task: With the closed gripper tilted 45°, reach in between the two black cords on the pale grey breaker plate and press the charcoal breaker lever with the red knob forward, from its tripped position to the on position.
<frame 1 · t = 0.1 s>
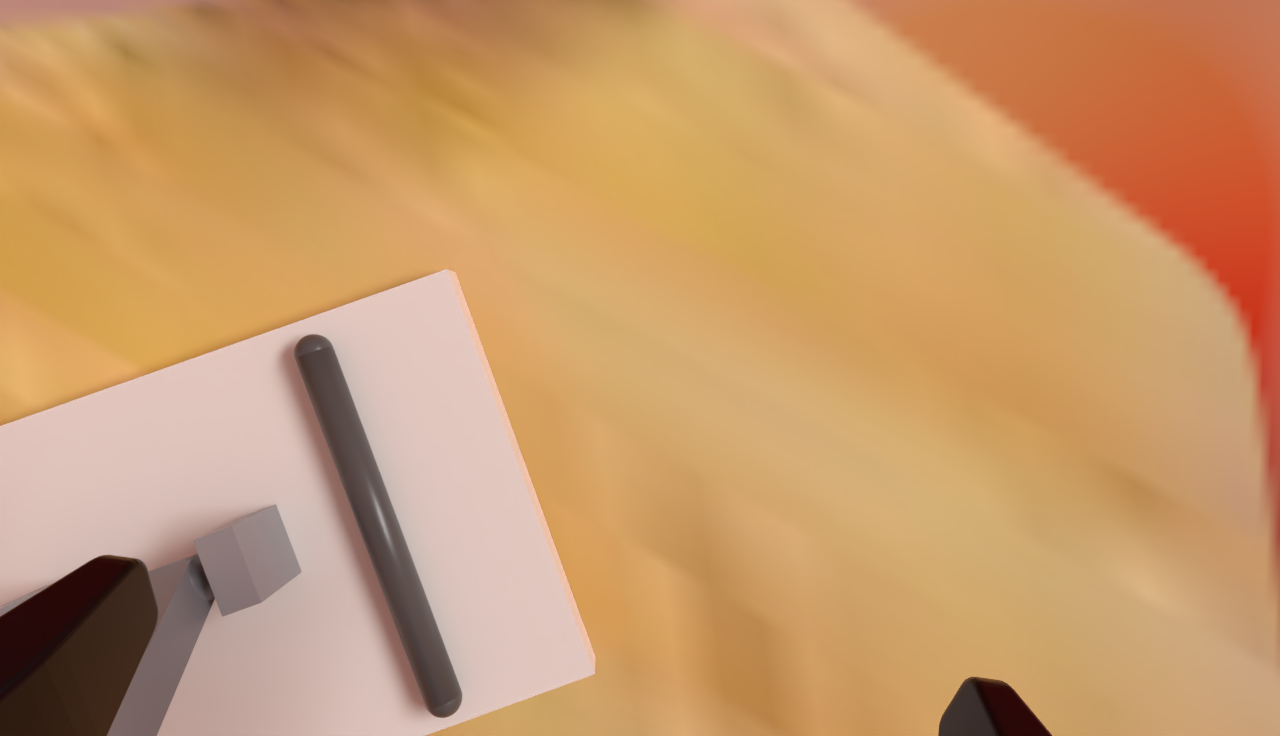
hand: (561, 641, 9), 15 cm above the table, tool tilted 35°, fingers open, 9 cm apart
breaker lever: (72, 703, 18), point 6 cm above the table, hinge at -25.0°
breaker plate: (193, 567, 24), on the table
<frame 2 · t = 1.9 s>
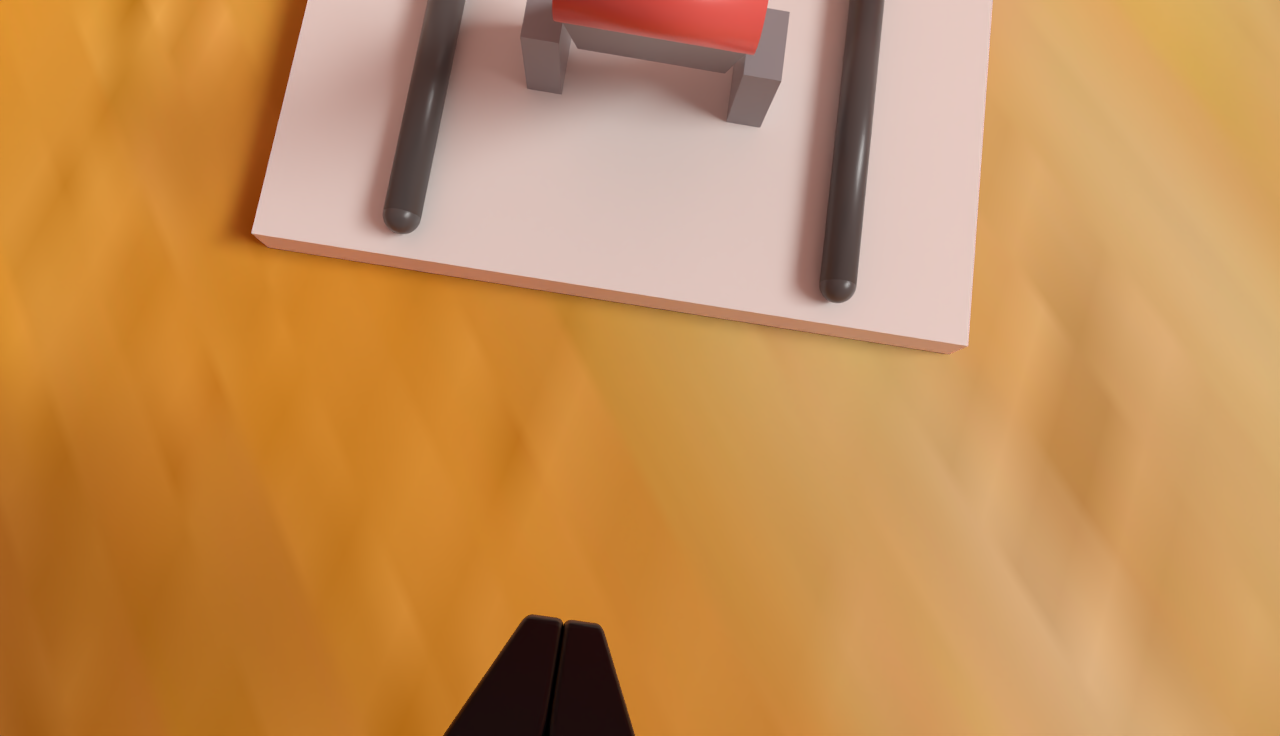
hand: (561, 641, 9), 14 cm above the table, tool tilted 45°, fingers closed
breaker lever: (657, 18, 19), point 6 cm above the table, hinge at -25.0°
breaker plate: (646, 97, 25), on the table
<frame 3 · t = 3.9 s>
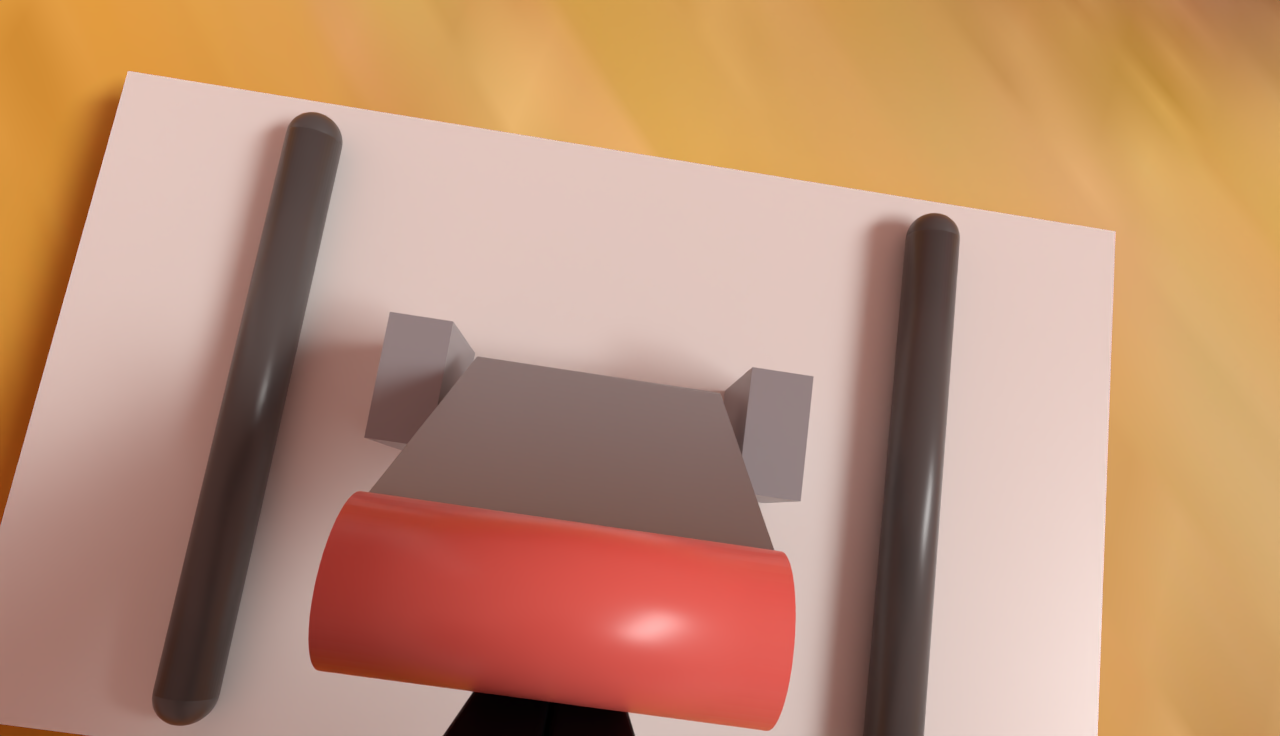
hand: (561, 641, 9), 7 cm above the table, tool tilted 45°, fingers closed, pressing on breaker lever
breaker lever: (581, 485, 10), point 6 cm above the table, hinge at -25.0°, touching gripper
breaker plate: (592, 430, 16), on the table
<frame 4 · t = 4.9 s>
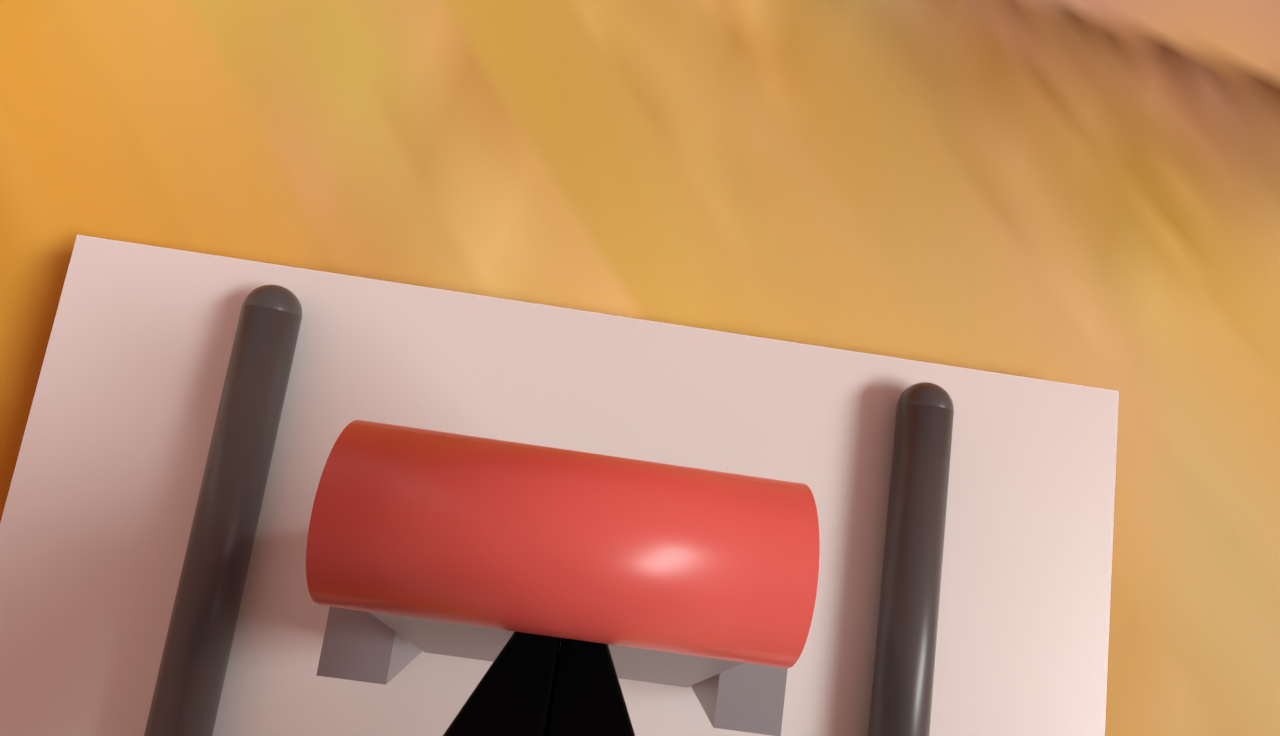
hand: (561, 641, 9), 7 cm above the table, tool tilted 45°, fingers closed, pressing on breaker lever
breaker lever: (565, 596, 10), point 6 cm above the table, hinge at 15.8°, touching gripper
breaker plate: (568, 603, 16), on the table
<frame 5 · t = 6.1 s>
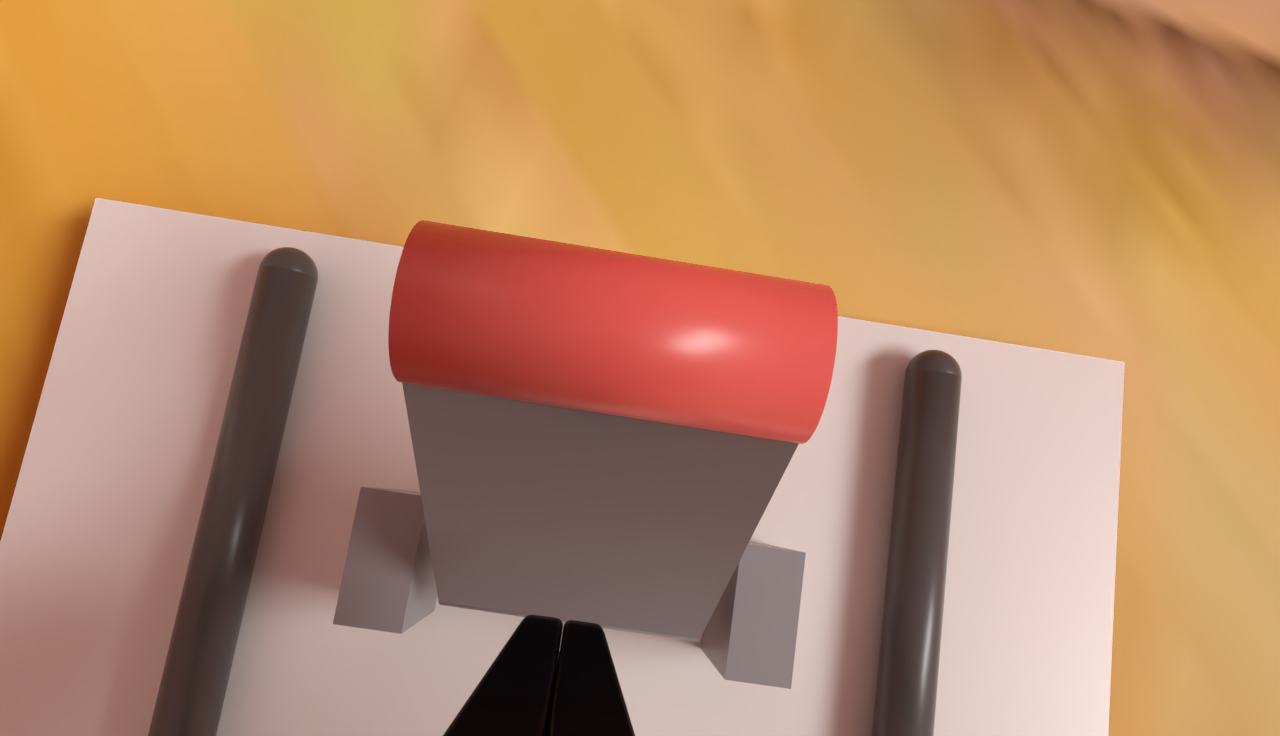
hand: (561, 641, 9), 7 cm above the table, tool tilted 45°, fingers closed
breaker lever: (591, 482, 10), point 6 cm above the table, hinge at 29.2°
breaker plate: (578, 567, 16), on the table
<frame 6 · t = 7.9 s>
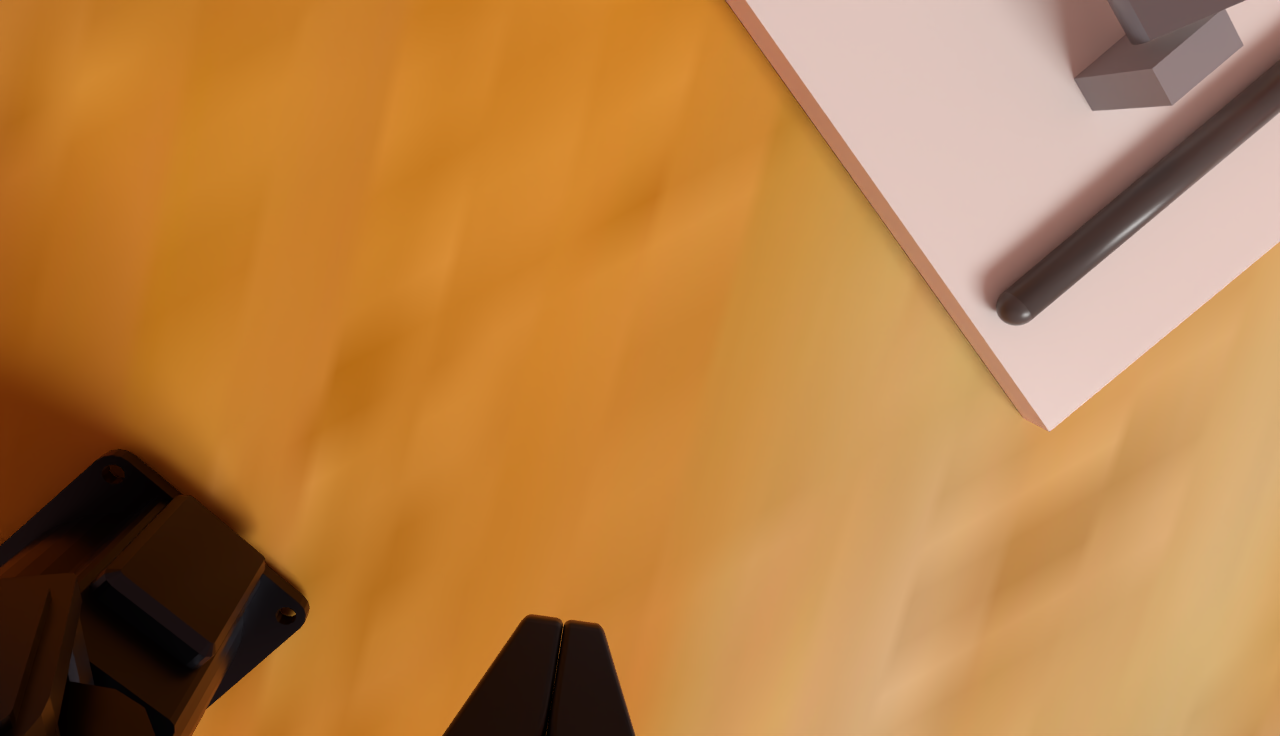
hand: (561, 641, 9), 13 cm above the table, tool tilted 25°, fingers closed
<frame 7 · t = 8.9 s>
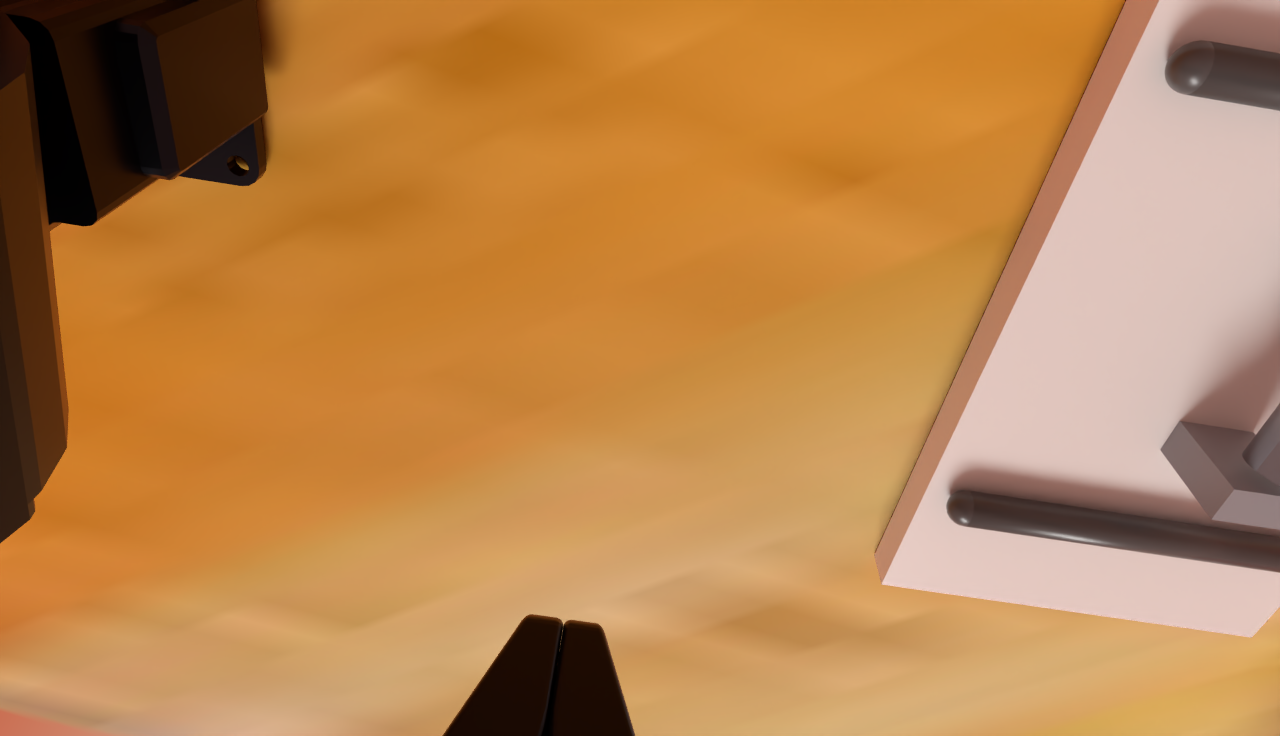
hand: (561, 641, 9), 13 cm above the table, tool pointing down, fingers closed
breaker plate: (1242, 325, 21), on the table
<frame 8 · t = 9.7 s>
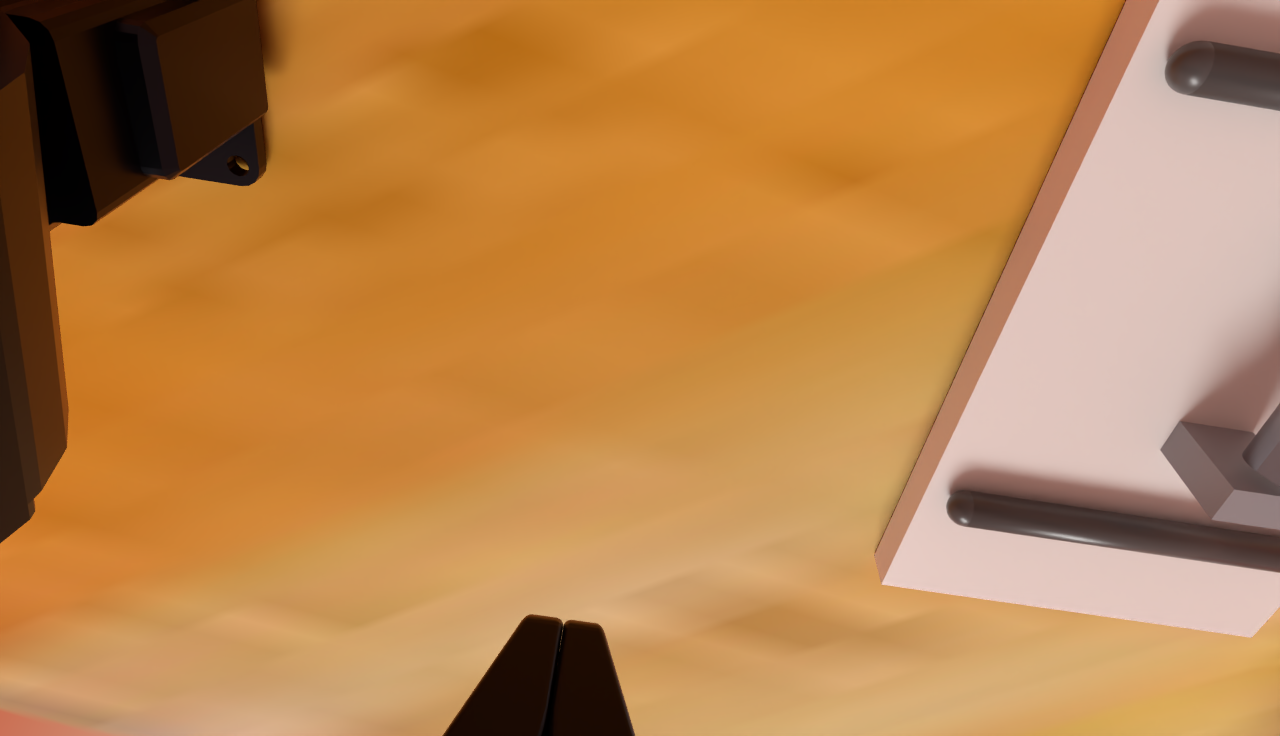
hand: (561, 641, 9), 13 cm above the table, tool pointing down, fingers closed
breaker plate: (1242, 325, 21), on the table
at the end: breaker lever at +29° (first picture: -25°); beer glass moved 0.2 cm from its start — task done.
